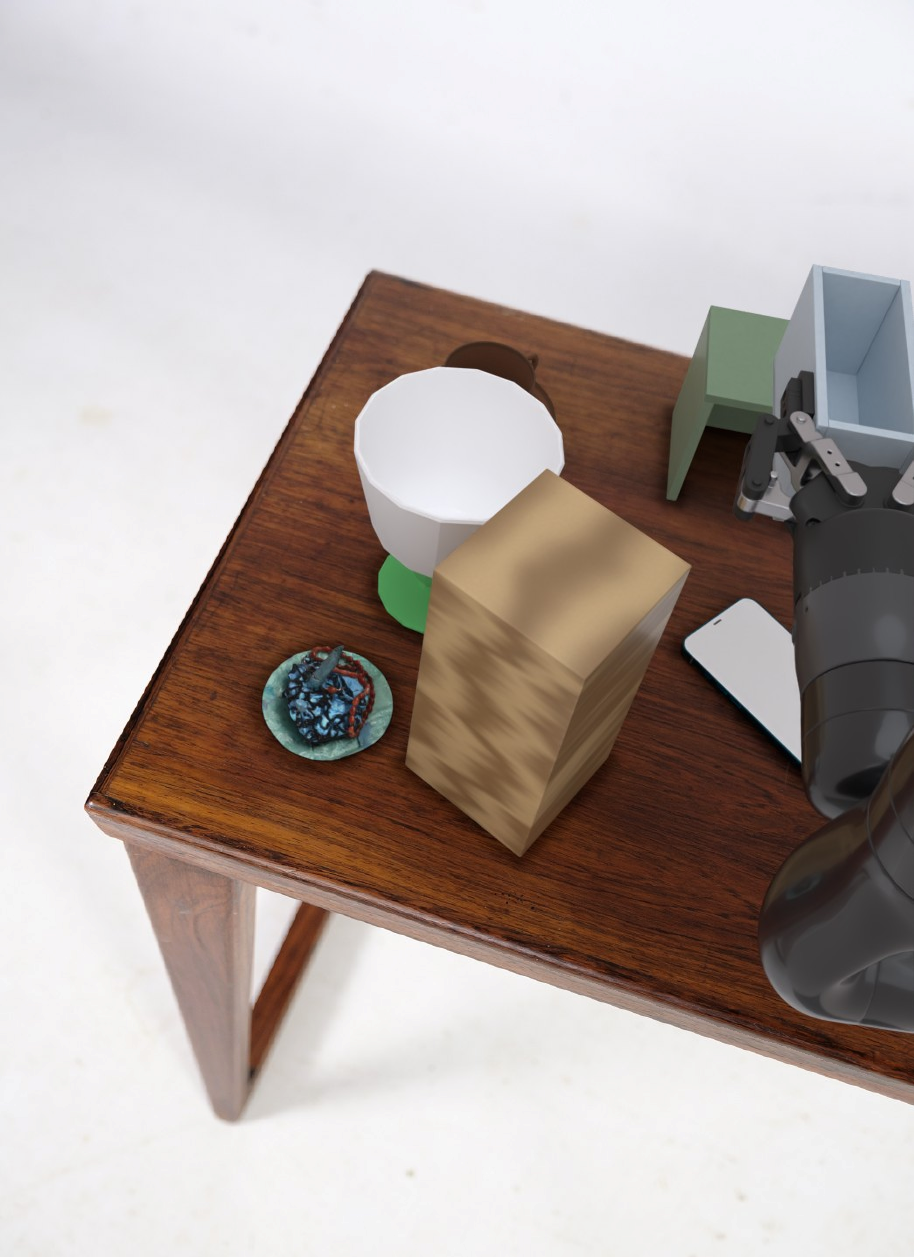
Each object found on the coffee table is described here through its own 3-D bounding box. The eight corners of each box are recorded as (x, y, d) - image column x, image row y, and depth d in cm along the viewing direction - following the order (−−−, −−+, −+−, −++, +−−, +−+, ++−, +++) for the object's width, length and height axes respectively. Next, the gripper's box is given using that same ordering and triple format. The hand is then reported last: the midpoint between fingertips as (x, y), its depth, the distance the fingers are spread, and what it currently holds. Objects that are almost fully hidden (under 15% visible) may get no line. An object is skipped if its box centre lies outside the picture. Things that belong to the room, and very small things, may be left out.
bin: (871, 537, 71) (927, 444, 65) (772, 520, 71) (817, 424, 65) (861, 378, 79) (910, 280, 73) (772, 362, 79) (812, 263, 73)
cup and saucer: (445, 358, 103) (452, 302, 98) (573, 409, 101) (587, 355, 96) (383, 446, 97) (387, 391, 92) (518, 503, 95) (530, 450, 90)
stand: (607, 758, 83) (692, 565, 65) (520, 858, 78) (585, 679, 60) (495, 673, 86) (547, 467, 68) (404, 765, 81) (433, 568, 63)
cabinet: (799, 524, 97) (854, 422, 87) (666, 499, 97) (706, 394, 87) (798, 436, 103) (850, 331, 93) (672, 412, 103) (710, 304, 93)
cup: (539, 535, 93) (577, 388, 80) (513, 681, 85) (551, 543, 72) (368, 500, 93) (378, 347, 80) (326, 642, 86) (330, 498, 73)
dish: (239, 662, 81) (332, 633, 78) (295, 655, 87) (383, 628, 84) (268, 777, 80) (363, 753, 77) (322, 761, 87) (412, 738, 84)
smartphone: (905, 749, 86) (744, 599, 92) (911, 743, 85) (748, 592, 91) (835, 809, 82) (673, 650, 88) (840, 804, 81) (676, 643, 87)
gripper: (1054, 606, 56) (1012, 364, 66) (751, 551, 56) (754, 318, 66) (982, 691, 62) (953, 458, 72) (708, 641, 62) (717, 416, 72)
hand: (858, 392), depth 69 cm, fingers closed on bin, 6 cm apart
